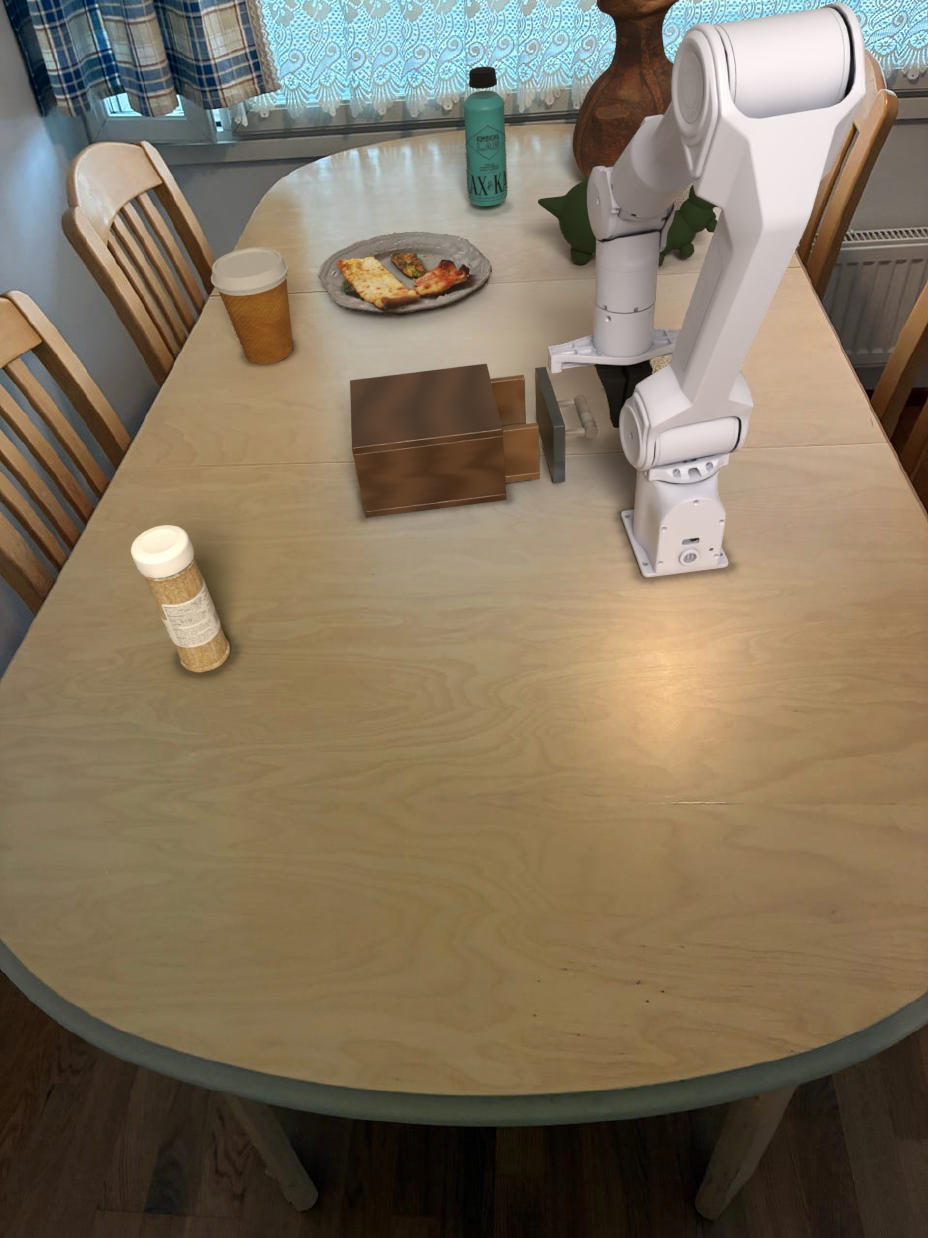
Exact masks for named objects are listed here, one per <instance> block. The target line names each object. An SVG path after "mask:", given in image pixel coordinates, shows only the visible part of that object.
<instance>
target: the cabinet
mask: <svg viewBox="0 0 928 1238" xmlns="http://www.w3.org/2000/svg"><path fill="white" fill-rule="evenodd" d="M491 379H492V378H491V375H490V371H489V367H488V363H479V364H471V365H463V366H455V367H447V368H438V369H430V370H424V371H414V372H406V373H398V374H389V375H382V376H375V377H366V378H359V379H358V378H357V379H351V380H349V395H350V398H349V399H350V432H351V433H350V435H351V437H350V438H351V450H352V451H351V452H352V456H353V462H354V466H355V472H356V476H357V482H358V488H359V491H360V497H361V502H362V507H363V512H364V516H365V518H366V519H367V518H374V517H383V516H390V515H399V514H407V513H415V512H422V511H423V512H424V511H430V510H438V509H445V508H452V507H454V508H455V507H461V506H462V507H463V506H469V505H477V504H486V503H493V502H494V503H495V502H500V501H507V500H508V499H507V483H506V479H505V461H504V443H503V428H502V424H501V420H500V416H499V412H498V408H497V404H496V399H495V395H494V391H493V387H492V383H491Z"/></svg>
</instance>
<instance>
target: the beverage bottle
mask: <svg viewBox="0 0 928 1238" xmlns="http://www.w3.org/2000/svg"><path fill="white" fill-rule="evenodd" d="M496 71H497V70H496V68H495V67H492V66H477V67H473V68H472V69H470V70H469V78H468V87H470V88H471V89H476V90H480V91H475V92H472V93H470V94H469V95H468V96H467V98H466V99H465V100H464V102H463V106H462V107H463V108H462V109H463V117H464V135H465V136H464V137H465V144H464V146H465V156H464V158H465V162H466V163H465V166H466V169H465V172H466V184H467V185H466V187H467V188H466V189H467V193H468V199H469V202H470V203H471V204H472V205H475V206H479V207H489V206H496V205H499V204H501V203H504V202H505V201H506V200H507V198H508V197H507V196H508V191H509V190H508V189H509V185H508V183H509V181H508V178H509V177H508V170H507V161H508V160H507V159H508V158H507V157H508V154H507V150H508V149H507V147H506V146H507V144H506V143H507V142H506V141H507V140H506V139H507V135H506V126H505V124H506V123H505V119H506V118H505V100H504V99H503V97H502V96H501V95H500V94H499V93H497V92H496V91H494V90H482V89H490V88H494V87H495V86H497V85H498V79H497V72H496Z"/></svg>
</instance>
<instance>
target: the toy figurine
mask: <svg viewBox="0 0 928 1238" xmlns="http://www.w3.org/2000/svg"><path fill="white" fill-rule="evenodd" d="M588 181H589V179H585V180H582V181H581V182H578V183H577V184H575V185H573V187H571V188H570V189H569V190H568V191H567V193H566V194H564V195H560V196H551V197H544V198H539V199H538V200H537V204H538V205H539V206H540V207H542V208H543V209H544V210H545V211H547V212H549V213H550V214H551V215H553V216H554V217H555V218H557V220H558V224H559V225H558V226H559V229H560V231H561V232H560V233H561V234H562V237H563V238H564V240H565V241H566V242H567V244H568V245H569V246H570V257H571V259H572V261H573V262H574V264H577V265H581V266H582V265H586V264H587V263H588V262H590V261H591V260H592V257H593V254H596V237H595V235H594V233H593V231H592V228H591V225H590V221H589V216H588V208H587V187H588ZM715 208H718V207H717V206H715V205H713V204H711V203H709V202H707V201H705V200H703V199H701V198H700V197H698V196H696V194H695V191H694V187H693V184H692V185H690V188H689V191H688V198H687V199H685V200H684V201H683V202H682V203H681V205H680V207H679V209H675V214H674V218H673V222H672V224H671V226H670V228H669V230H668V233H667V240H666V247H665V249H664V250H663V251H662V252H659V264H658V267H660V266H663V264H664V261H665V257H664V256H667V255H668V254H669V253H671V252H672V251H679V255H680V256H681V257H683V258H684V259H688V258H691V257H692V256H693V254H694V253H695V245H694V243H692V242H693V241H694V240H695V238H696V236H697V234H698V233H701V232H703V231H704V230H706V231H707V233H714V231H715V228H716V225H717V222H718V219H717V214H716V213H715V211H714V209H715Z"/></svg>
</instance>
